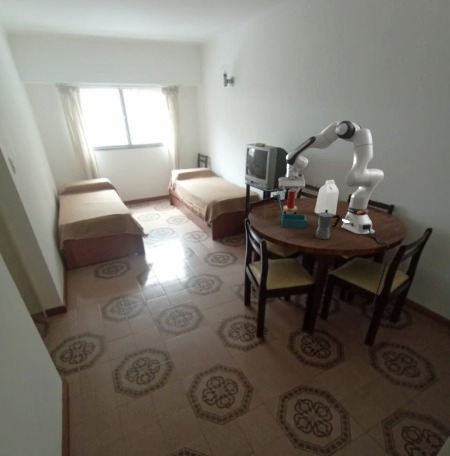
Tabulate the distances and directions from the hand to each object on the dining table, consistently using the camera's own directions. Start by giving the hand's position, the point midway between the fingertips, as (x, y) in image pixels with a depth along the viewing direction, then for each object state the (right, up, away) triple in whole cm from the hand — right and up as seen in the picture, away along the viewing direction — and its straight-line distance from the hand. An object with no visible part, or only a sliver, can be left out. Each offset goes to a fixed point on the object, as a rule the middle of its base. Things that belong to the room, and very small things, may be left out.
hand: (291, 192), depth 213 cm
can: (-1, -12, -3) cm, 13 cm away
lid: (-12, -13, -18) cm, 25 cm away
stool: (-1, -19, +1) cm, 19 cm away
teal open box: (-2, -27, -12) cm, 30 cm away
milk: (+30, -14, +10) cm, 34 cm away
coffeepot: (+14, -38, -33) cm, 52 cm away
